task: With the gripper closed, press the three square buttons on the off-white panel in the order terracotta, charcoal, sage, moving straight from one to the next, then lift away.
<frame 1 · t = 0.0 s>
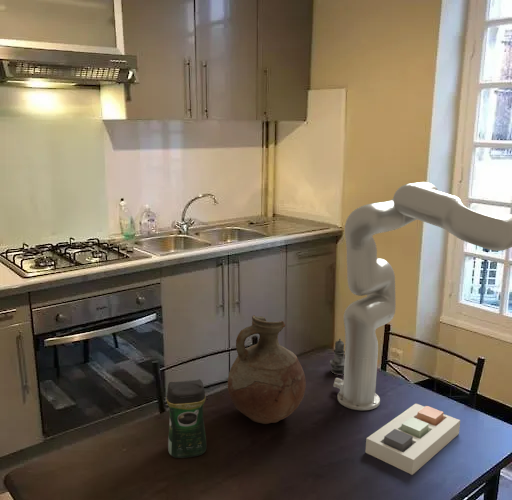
coffee jar: (187, 450, 139), on the table
terracotta button: (430, 416, 149), point 4 cm above the table, slide at 0.0 cm
jug: (265, 418, 156), on the table
charcoal button: (398, 440, 137), point 4 cm above the table, slide at 0.0 cm
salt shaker: (338, 372, 185), on the table
button panel: (413, 442, 144), on the table
sage button: (414, 428, 143), point 4 cm above the table, slide at 0.0 cm
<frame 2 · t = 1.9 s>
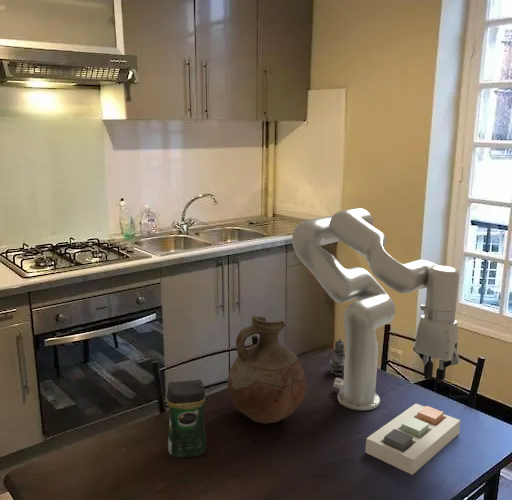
hand: (433, 378, 147), 15 cm above the table, tool pointing down, fingers closed
nothing on the table moved.
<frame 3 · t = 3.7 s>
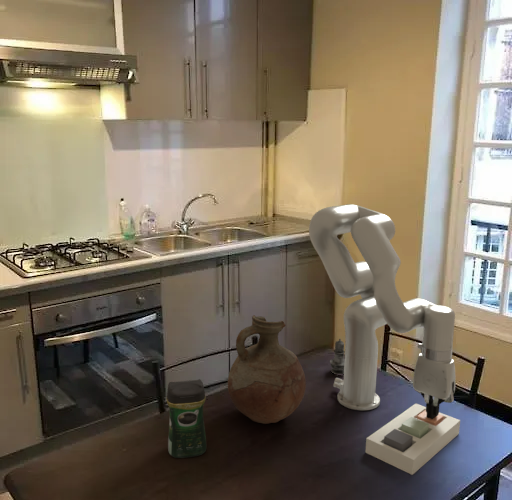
hand: (431, 416, 149), 4 cm above the table, tool pointing down, fingers closed
terracotta button: (429, 420, 149), point 3 cm above the table, slide at 1.1 cm, touching gripper
everything else where it was.
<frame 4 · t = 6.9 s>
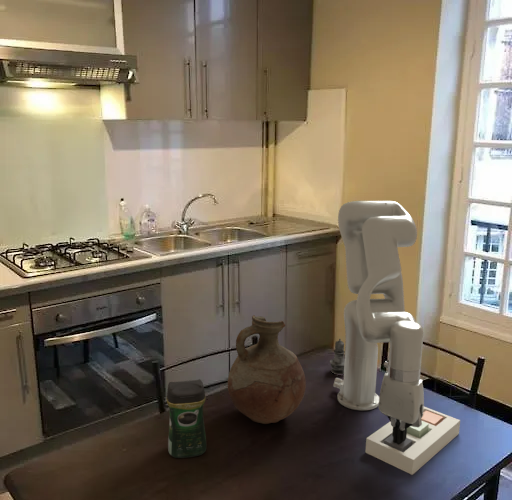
hand: (398, 441, 137), 4 cm above the table, tool pointing down, fingers closed
terracotta button: (429, 421, 150), point 3 cm above the table, slide at 1.5 cm
charcoal button: (397, 444, 137), point 3 cm above the table, slide at 1.1 cm, touching gripper
everything else where it was.
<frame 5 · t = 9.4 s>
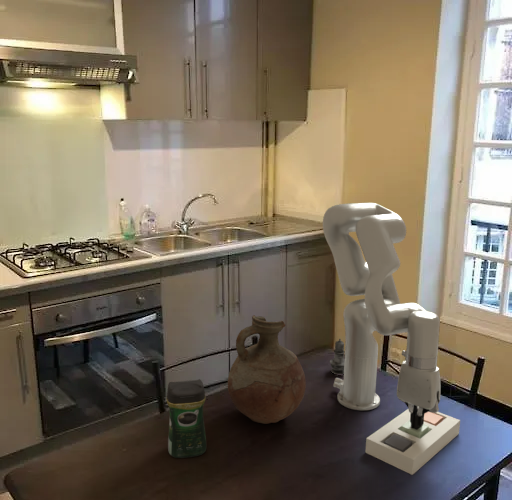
hand: (416, 426, 143), 5 cm above the table, tool pointing down, fingers closed
charcoal button: (397, 446, 138), point 3 cm above the table, slide at 1.5 cm
sage button: (414, 430, 143), point 4 cm above the table, slide at 0.7 cm, touching gripper
everything else where it was.
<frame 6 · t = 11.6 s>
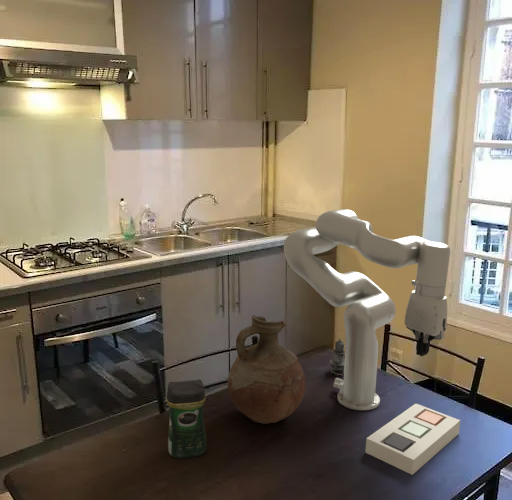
hand: (421, 354, 148), 21 cm above the table, tool pointing down, fingers closed
sage button: (414, 433, 144), point 3 cm above the table, slide at 1.5 cm
everything else where it was.
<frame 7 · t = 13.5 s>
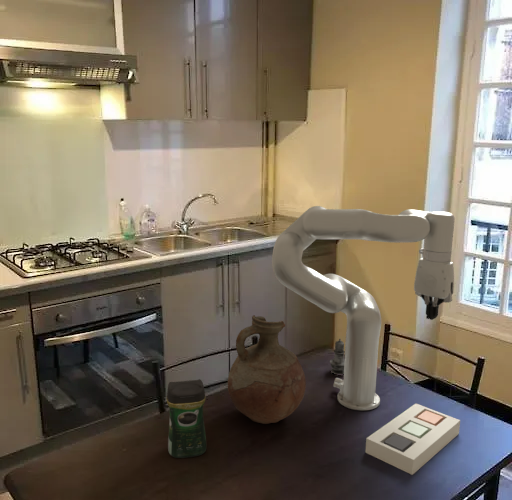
hand: (431, 318, 158), 27 cm above the table, tool pointing down, fingers closed
nothing on the table moved.
at the end: terracotta button slide at 1.5 cm; charcoal button slide at 1.5 cm; sage button slide at 1.5 cm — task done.
